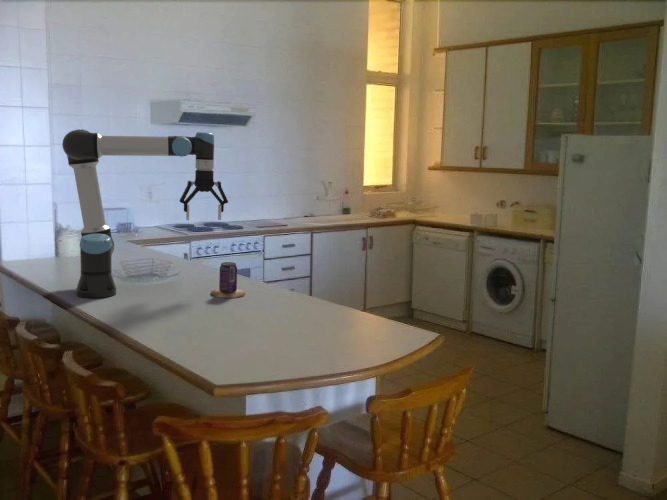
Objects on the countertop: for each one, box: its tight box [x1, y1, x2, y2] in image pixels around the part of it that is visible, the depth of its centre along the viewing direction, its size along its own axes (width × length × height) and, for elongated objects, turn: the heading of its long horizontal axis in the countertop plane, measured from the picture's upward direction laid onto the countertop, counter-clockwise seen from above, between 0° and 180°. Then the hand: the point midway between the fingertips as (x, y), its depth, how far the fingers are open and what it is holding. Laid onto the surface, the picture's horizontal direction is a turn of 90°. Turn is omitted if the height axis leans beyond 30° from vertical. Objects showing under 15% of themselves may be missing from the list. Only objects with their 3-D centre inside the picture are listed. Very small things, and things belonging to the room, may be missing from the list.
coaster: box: [210, 288, 246, 299], centre depth 287 cm, size 14×14×1 cm
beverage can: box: [218, 261, 238, 293], centre depth 285 cm, size 7×7×12 cm
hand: (203, 219), depth 295 cm, fingers open, 13 cm apart
